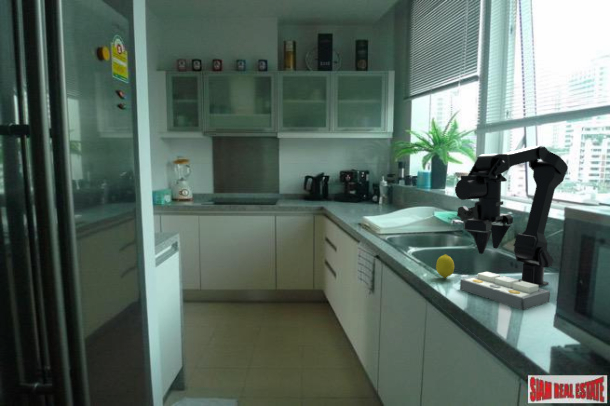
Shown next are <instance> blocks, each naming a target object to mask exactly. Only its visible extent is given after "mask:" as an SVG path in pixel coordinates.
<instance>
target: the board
mask: <svg viewBox="0 0 610 406" xmlns="http://www.w3.org/2000/svg"><path fill="white" fill-rule="evenodd" d="M459 285H460V286H459V289H460V290H462V291H464V292H468V293H471V294H473V295H477V296H479V297H483V298H486V299H488V298H489V299H488V300H491V299H492V300H491V301H495V302H497V303H501V304H503V305H507V306H510V307H513V308H515V309H519V310H522V311H525V310H527V309H528V310H529V309H532V308H535V307H537V306H541V305H544V304H548V303H550V297H551V291H550V290H548V289H543V288H540V287H538V291H537V292H534V293H530V294H528V293H525V292H521V291H518V290H515V289H513V287H511V288H508V287H504V286H501V285H497V284H494V282H492V283H490V282H487V281H483V280H480V279H477V275H475V276H470V277H466V278H460V280H459Z"/></svg>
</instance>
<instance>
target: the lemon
mask: <svg viewBox="0 0 610 406" xmlns="http://www.w3.org/2000/svg"><path fill="white" fill-rule="evenodd" d="M454 262H455V261H454V260H453V258H451V256H449V255H448V254H446V253H445V254H443V255H441V256H439V257H438V259H437V260H436V265H435V269H436V272H437V273H438V275H439V276H441V277H442V278H443V279H447V278H448V277H450V276H452V275H453V274H454V270H455V263H454Z"/></svg>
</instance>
